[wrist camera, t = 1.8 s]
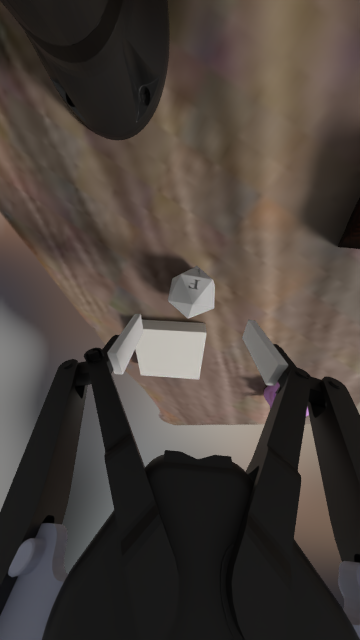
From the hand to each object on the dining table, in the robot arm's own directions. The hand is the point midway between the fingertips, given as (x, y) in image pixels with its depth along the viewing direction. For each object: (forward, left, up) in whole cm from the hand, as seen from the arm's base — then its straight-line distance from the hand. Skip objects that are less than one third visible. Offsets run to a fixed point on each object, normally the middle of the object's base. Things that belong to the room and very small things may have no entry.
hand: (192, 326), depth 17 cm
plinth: (+19, -5, -16) cm, 25 cm away
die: (0, 0, -16) cm, 16 cm away
